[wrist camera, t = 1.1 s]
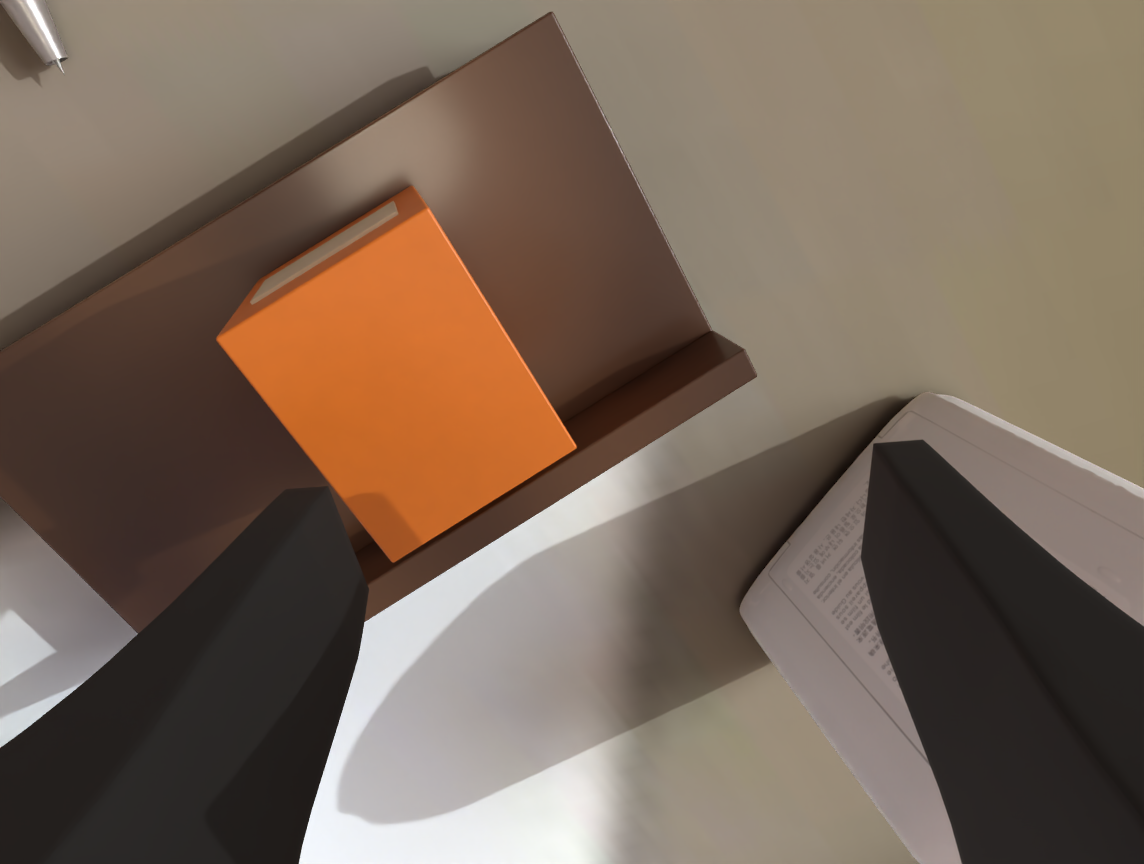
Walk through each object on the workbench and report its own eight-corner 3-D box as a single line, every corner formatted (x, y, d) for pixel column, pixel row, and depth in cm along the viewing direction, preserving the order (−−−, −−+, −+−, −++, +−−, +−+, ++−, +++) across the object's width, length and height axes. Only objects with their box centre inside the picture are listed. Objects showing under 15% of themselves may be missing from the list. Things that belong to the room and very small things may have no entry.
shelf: (211, 628, 24) (175, 741, 19) (-33, 372, 20) (-145, 440, 16) (687, 330, 24) (758, 376, 20) (529, 24, 20) (573, -4, 16)
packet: (387, 456, 20) (392, 564, 15) (255, 277, 18) (211, 334, 13) (527, 369, 20) (578, 448, 15) (410, 181, 18) (426, 202, 13)
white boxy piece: (799, 668, 29) (1071, 1013, 18) (712, 614, 28) (951, 955, 16) (998, 435, 28) (1434, 651, 16) (919, 364, 26) (1341, 547, 15)
